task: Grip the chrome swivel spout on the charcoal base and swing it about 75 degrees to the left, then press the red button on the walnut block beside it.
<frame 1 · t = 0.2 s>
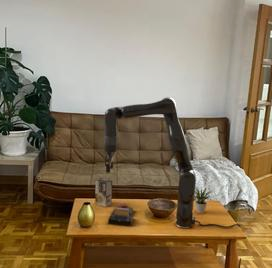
hand: (109, 170, 209), 29 cm above the table, tool pointing down, fingers open, 8 cm apart
spout base: (121, 221, 210), on the table
coffee box: (103, 204, 235), on the table
button: (123, 206, 222), point 4 cm above the table, slide at 0.1 cm
button block: (123, 212, 223), on the table
house plant: (201, 212, 231), on the table
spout: (121, 212, 209), point 6 cm above the table, hinge at 0.0°
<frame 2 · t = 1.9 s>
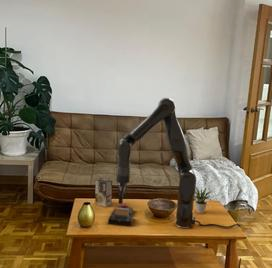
hand: (121, 200, 208), 13 cm above the table, tool pointing down, fingers open, 8 cm apart
nothing on the table moved.
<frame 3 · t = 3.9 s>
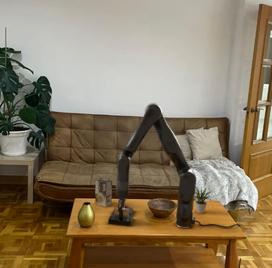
hand: (121, 216, 209), 3 cm above the table, tool pointing down, fingers closed on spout, 2 cm apart
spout: (121, 212, 209), point 6 cm above the table, hinge at 0.0°, touching gripper
everything else where it was.
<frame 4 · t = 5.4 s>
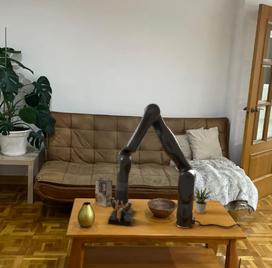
hand: (120, 216, 210), 3 cm above the table, tool pointing down, fingers open, 3 cm apart
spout: (121, 212, 209), point 6 cm above the table, hinge at 74.3°
everything else where it was.
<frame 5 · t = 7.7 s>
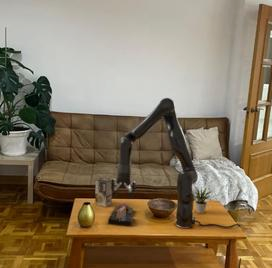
hand: (122, 197, 215), 13 cm above the table, tool pointing down, fingers open, 8 cm apart
nothing on the table moved.
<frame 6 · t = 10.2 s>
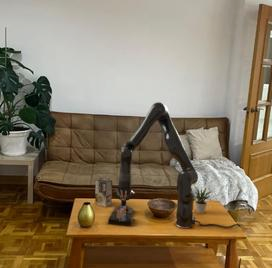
hand: (123, 206, 222), 4 cm above the table, tool pointing down, fingers closed
button: (123, 207, 222), point 4 cm above the table, slide at -0.9 cm, touching gripper
everything else where it was.
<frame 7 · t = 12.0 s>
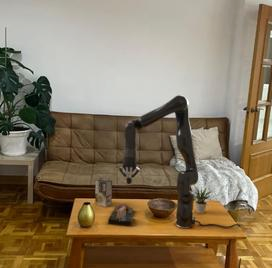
hand: (128, 183, 217), 20 cm above the table, tool pointing down, fingers closed
button: (123, 206, 222), point 4 cm above the table, slide at 0.1 cm
everything else where it was.
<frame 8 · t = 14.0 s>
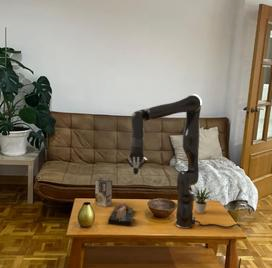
hand: (135, 173, 212), 27 cm above the table, tool pointing down, fingers closed
nothing on the table moved.
at the end: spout at +74° (first picture: +0°); button pushed in 1.1 cm at the most during the clip and back out by the end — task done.
